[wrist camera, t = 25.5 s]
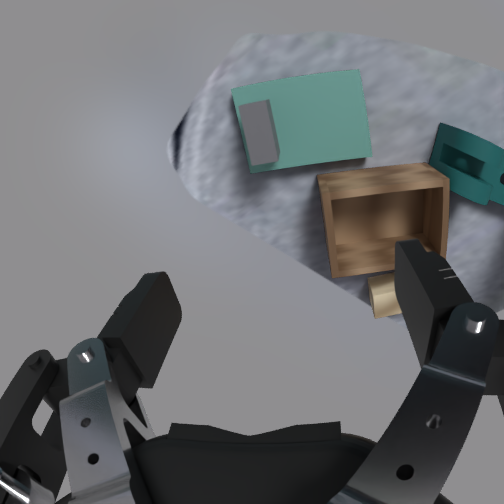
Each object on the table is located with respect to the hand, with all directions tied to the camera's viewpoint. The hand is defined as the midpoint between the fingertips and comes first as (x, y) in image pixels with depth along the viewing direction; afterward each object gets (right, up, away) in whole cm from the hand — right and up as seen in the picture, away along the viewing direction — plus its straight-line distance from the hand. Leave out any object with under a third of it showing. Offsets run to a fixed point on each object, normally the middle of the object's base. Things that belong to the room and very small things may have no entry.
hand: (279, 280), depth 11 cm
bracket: (+30, +12, +22) cm, 39 cm away
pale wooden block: (+21, -3, +32) cm, 38 cm away
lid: (+5, +16, +22) cm, 28 cm away
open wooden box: (+15, +7, +27) cm, 31 cm away
